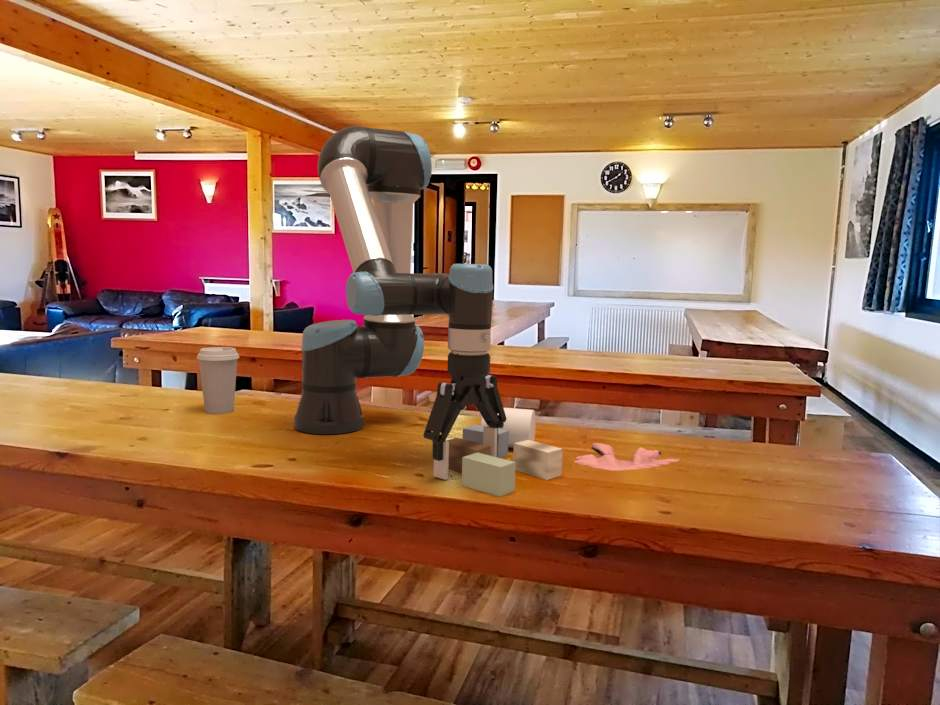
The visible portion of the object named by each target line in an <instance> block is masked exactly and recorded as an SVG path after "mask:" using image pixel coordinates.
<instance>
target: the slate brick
mask: <svg viewBox="0 0 940 705" xmlns="http://www.w3.org/2000/svg"><path fill="white" fill-rule="evenodd" d="M483 427H484V426H481V425H477V424H472V425H469V426H466V427H464V428H462V439H464V440H469V441H473V442H477V443H481V444H483ZM508 436H509V431H508V430H502V429H498V442H497V458H501V459H504V458H505V457H507V456H508V455H509V447H508Z"/></svg>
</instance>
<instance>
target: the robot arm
mask: <svg viewBox="0 0 940 705" xmlns="http://www.w3.org/2000/svg"><path fill="white" fill-rule="evenodd" d="M432 166H433V164H432V155H431V152H430V149H429V145H428V144H427V142H426V141H425V139H424V138H423V137H422V136H420V135H419V134H417V133H412V132H408V131H404V130H402V131H401V130H392V129H382V128H373V127H366V126H365V127H364V126H361V125H359V126H358V125H354V126H352V125H351V126H347V127H344V128H341V129H340V130H337V131H336V132H334V133H333V134H331V136H330V137H328V139H327V140H326V141H325V143H324V145H322V148H321V151H320V153H319V155H318V159H317V174H318V177H319V180H320V184H321V185H320V186H321V187H322V189H323V190H324V191H325V192H327V193H328V194H329V196H330V200H331V203H332V206H333V210H334V214H335V216H336V219H337V220H336V221H337V223H338V226H339V229H340V233H341V236H342V239H343V242H344V246H345V249H346V253H347V256H348V259H349V262H350V265H351V268H352V273H350V275H349V276H348V278H347V280H346V287H345V294H346V303H347V307H348V309H349V310H350V311H351V312H352V313H353V314H355V315H362V316H363V325H362V326H359V325H358V324H357V321H356V320H353V319H341V320H338V319H336V320H327V321H321V322H318V323H317V322H316V323H313V324H310V325H308V326H305V328H304V330H303V331H302V337H301V339H302V340H301V347H300V348H301V349H300V350H301V370H302V372H301V374H302V375H301V376H302V379H301V380H302V383H301V384H302V385H301V386H302V391H301V396H300V399H299V402H298V406H297V410H296V412H295V415H294V418H293V419H294V420H293V425H294V426H293V427H294V429H295V430H296V431H299V432H302V433H306V434H314V435H315V434H316V435H338V434H339V435H340V434H348V433H352V432H356V431H359V430H361V429H362V428H364V425H365V424H364V423H365V422H364V420H365V418H364V413H363V412H362V411H363V410H362V407H361V403H360V401H359V398H358V394H357V379H367V378H369V379H370V378H388V377H390V378H391V377H392V378H398V377H401V376H409V375H412V374H413V373H415V371H416V370H418V368H419V366H420V364H421V362H422V359H423V355H424V352H425V351H424V350H425V338H424V333H423V331H422V329H421V327H420V326H419V325H417V324H416V318H415V317H414V316H413V315H425V316H427V315H431V316H432V315H446V316H448V329H447V330H448V331H447V332H448V333H447V349H448V350H449V351H450V352H449V353H448V354H447V373H448V374H449V375H450V376H451V379H450V382H449V383H448V382H447V383H446V382H441V381H439V382H438V384H437V389H436V396H435V400H434V402H433V405H432V408H431V411H430V414H429V416H428V420H427V423H426V426H425V429H424V430H423V438H424V439H426V440H430V441H431V442H432V449H431V450H432V451H431V452H432V453H431V455H432V460H433V477H435V478H439V479H441V480H448V479H449V470H448V465H449V442H448V441H446V440H447V438H448V436H449V434H450V432H451V430H453V429H452V428H453V426H454V424H455V422H456V421H457V419H458V416H459V415H460V412H461V411H463V410H465V407H468V406H470V405H475V407H476V408H477V409H478V412H479V414H480V416H481V418H482V417H483V419H484V420H485V422H486V424H487V425H489V427H488V426H484V427H483V444H486V445H490V446H491V456H493V457H497V442H498V428H503V426H504V423H503V422H506V415H505V412H504V408H505V407H504V406H503V401H502V398H501V395H500V392H499V389H498V377H497V376H496V375H492V374H491V375H490V373H491V355H490V354H489V353H488V352H489V351H490V350H491V335H492V334H491V331H492V330H491V329H492V318H493V317H492V316H493V295H494V294H493V292H494V284H493V269H492V267H491V265H489V264H484V263H483V264H482V263H479V264H478V263H453V264H452V265H451V266H450V268H449V273H448V274H447V273H444V272H441V273H439V272H438V273H437V272H435V273H411V269H412V268H411V265H412V264H411V263H412V262H411V260H412V243H413V242H412V236H413V217H414V216H413V212H414V211H413V209H414V204H415V202H416V201H418V199H420V198H421V190H424V189H426V188H427V187H428V186H429V183H430V181H431V180H430V179H431V177H432V168H433V167H432ZM498 414H499V415H498Z"/></svg>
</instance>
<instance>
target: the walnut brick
mask: <svg viewBox="0 0 940 705" xmlns="http://www.w3.org/2000/svg"><path fill="white" fill-rule="evenodd" d="M445 441H448V442H449V465H448V471H452V472H455V473H458V474H459V473H460V474H462V458H463V457H465V456H468V455H471V454H474V453H481V454H485V455H489V456H491V446H490V445H486V444H481V443H477V442H473V441H469V440H464V439H463V438H459V437H454V438H450V439H446V440H445Z"/></svg>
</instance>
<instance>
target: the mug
mask: <svg viewBox="0 0 940 705" xmlns="http://www.w3.org/2000/svg"><path fill="white" fill-rule="evenodd" d="M503 408H504V412H505V415H506V422H503V423H504V426H503V428H498V429H502V430H508V431H509V436H508V449H509V448H511V449H514V443H517V442H521V441H525V440H531V441H535V436H536V420H537V419H536V411H535V410H534V409H529V408H528V409H527V408H515V407H513V408H512V407H503ZM498 415H499V414H498ZM480 426H488V427H489V425H487V424H486V422H485V420H484V419H483V417H482V416H481V421H480Z"/></svg>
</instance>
